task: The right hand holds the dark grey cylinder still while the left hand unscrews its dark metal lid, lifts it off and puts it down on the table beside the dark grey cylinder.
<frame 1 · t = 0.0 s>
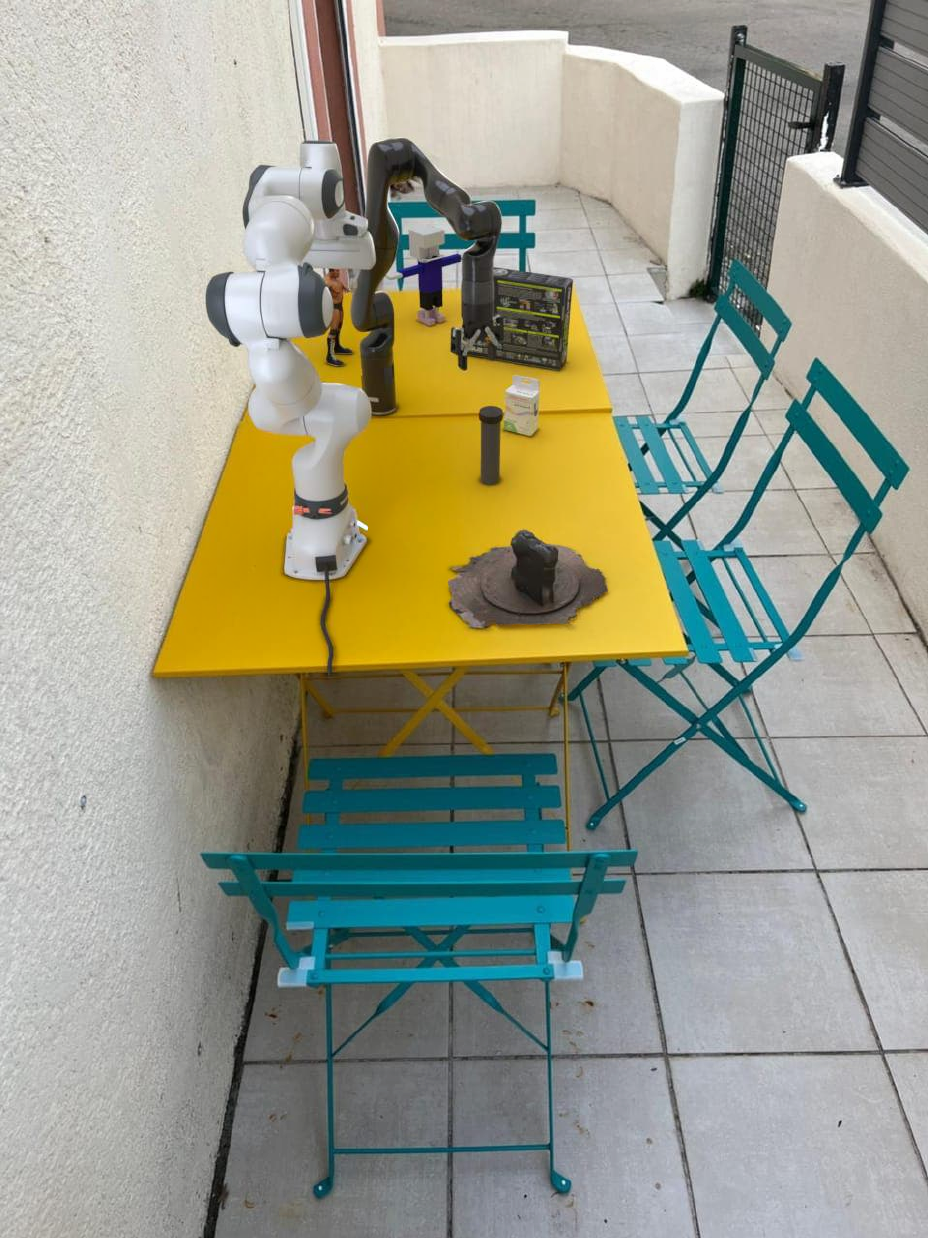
left hand: (332, 287, 199), 48 cm above the table, tool pointing down, fingers open, 8 cm apart
right hand: (477, 364, 212), 29 cm above the table, tool pointing down, fingers open, 8 cm apart
sculpture: (525, 587, 193), on the table
dark grey cylinder: (489, 479, 227), on the table
lid: (490, 412, 215), point 19 cm above the table, screwed on, not yet turned
toy: (430, 321, 308), on the table
figurine: (339, 358, 284), on the table
ink box: (520, 430, 247), on the table
box: (514, 359, 283), on the table
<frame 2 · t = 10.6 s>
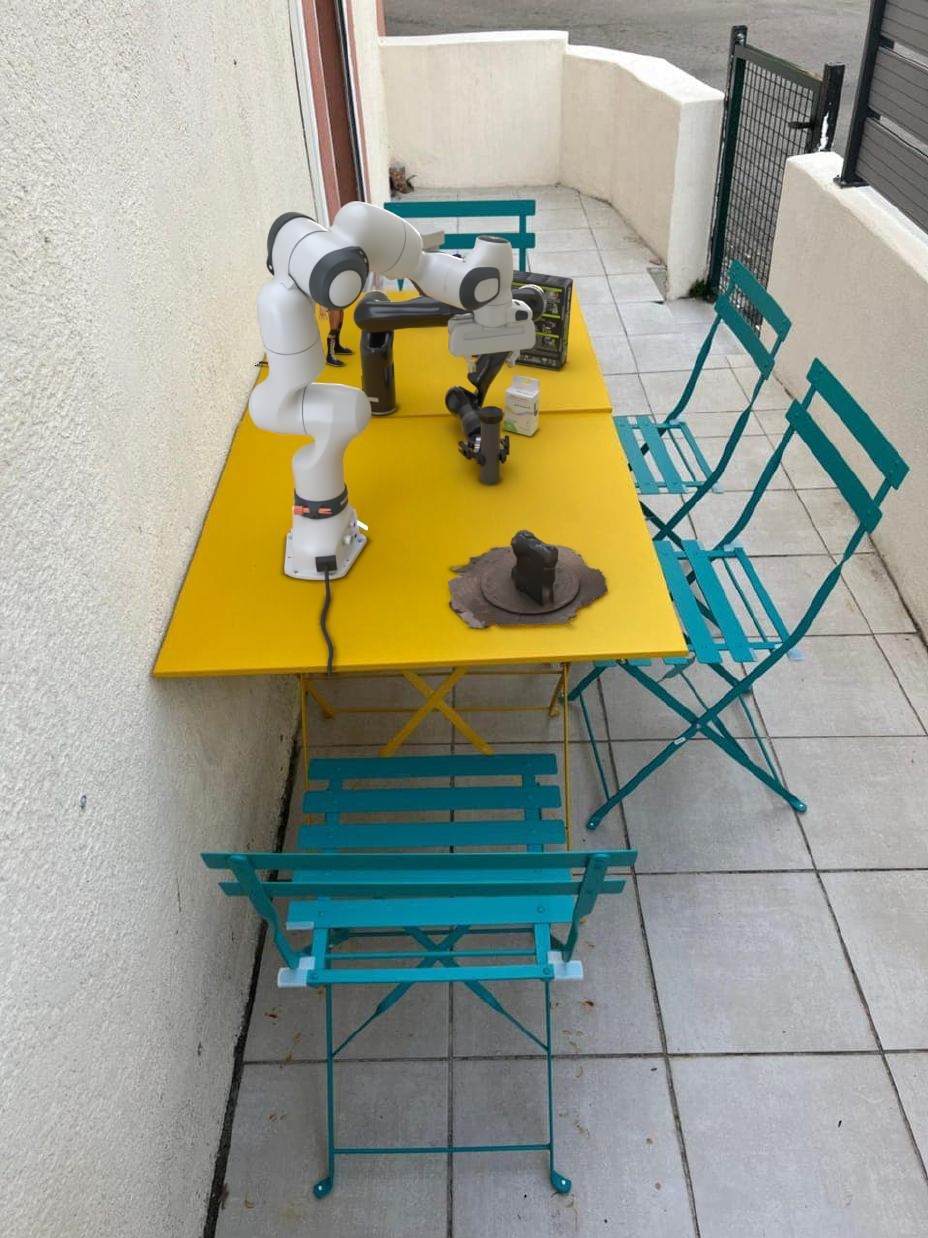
left hand: (491, 369, 208), 30 cm above the table, tool pointing down, fingers open, 8 cm apart
right hand: (492, 461, 221), 7 cm above the table, tool horizontal, fingers closed on dark grey cylinder, 5 cm apart
dark grey cylinder: (489, 479, 227), on the table, touching right hand
everything else where it was.
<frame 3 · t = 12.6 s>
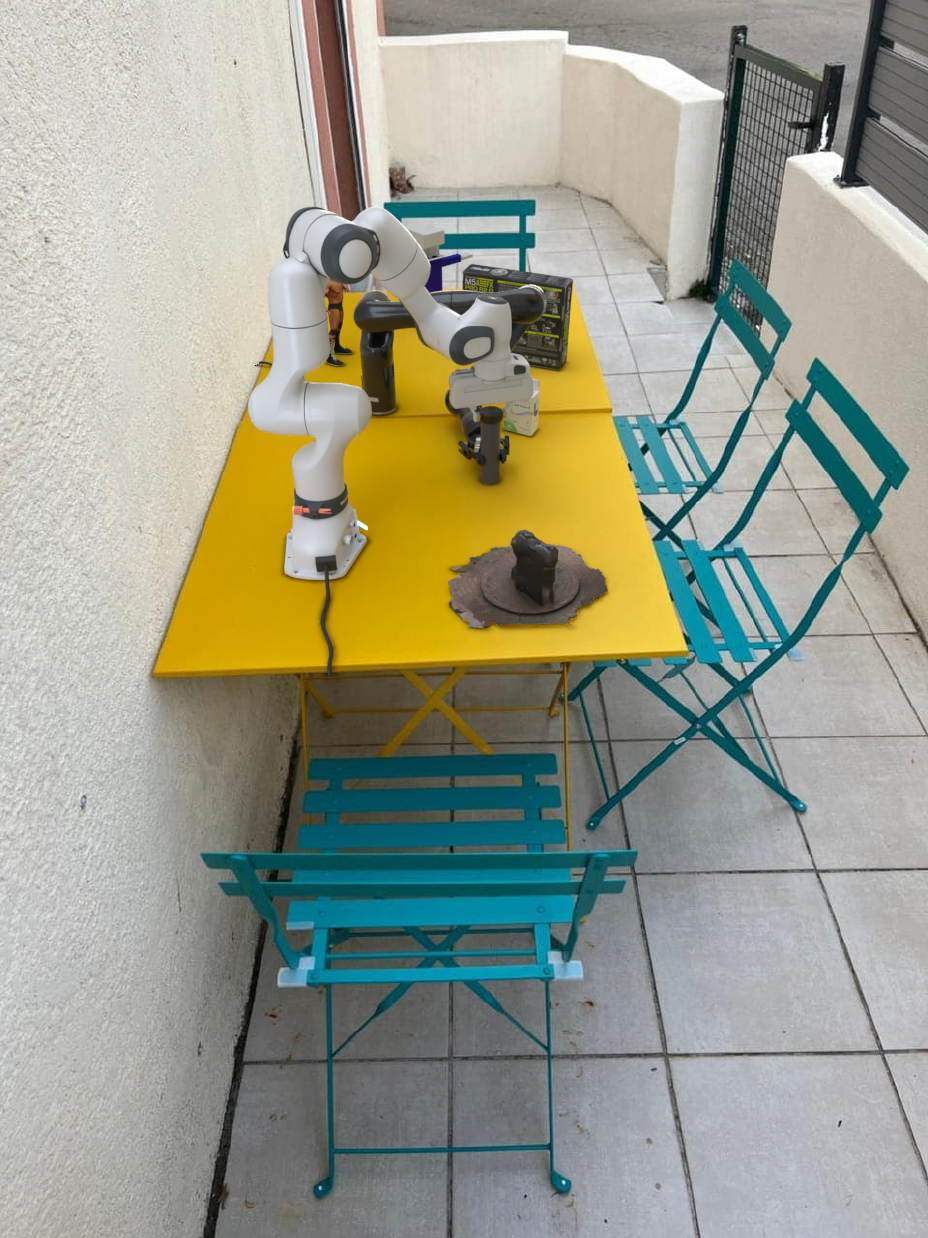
left hand: (491, 418, 216), 17 cm above the table, tool pointing down, fingers closed on lid, 5 cm apart
right hand: (492, 461, 221), 7 cm above the table, tool horizontal, fingers closed on dark grey cylinder, 5 cm apart
dark grey cylinder: (489, 479, 227), on the table, touching right hand
lid: (490, 412, 215), point 19 cm above the table, screwed on, not yet turned, touching left hand
everything else where it was.
when the left hand's fingers open (18 cm above the table, at t = 14.0 s): lid stays where it is, point 19 cm above the table.
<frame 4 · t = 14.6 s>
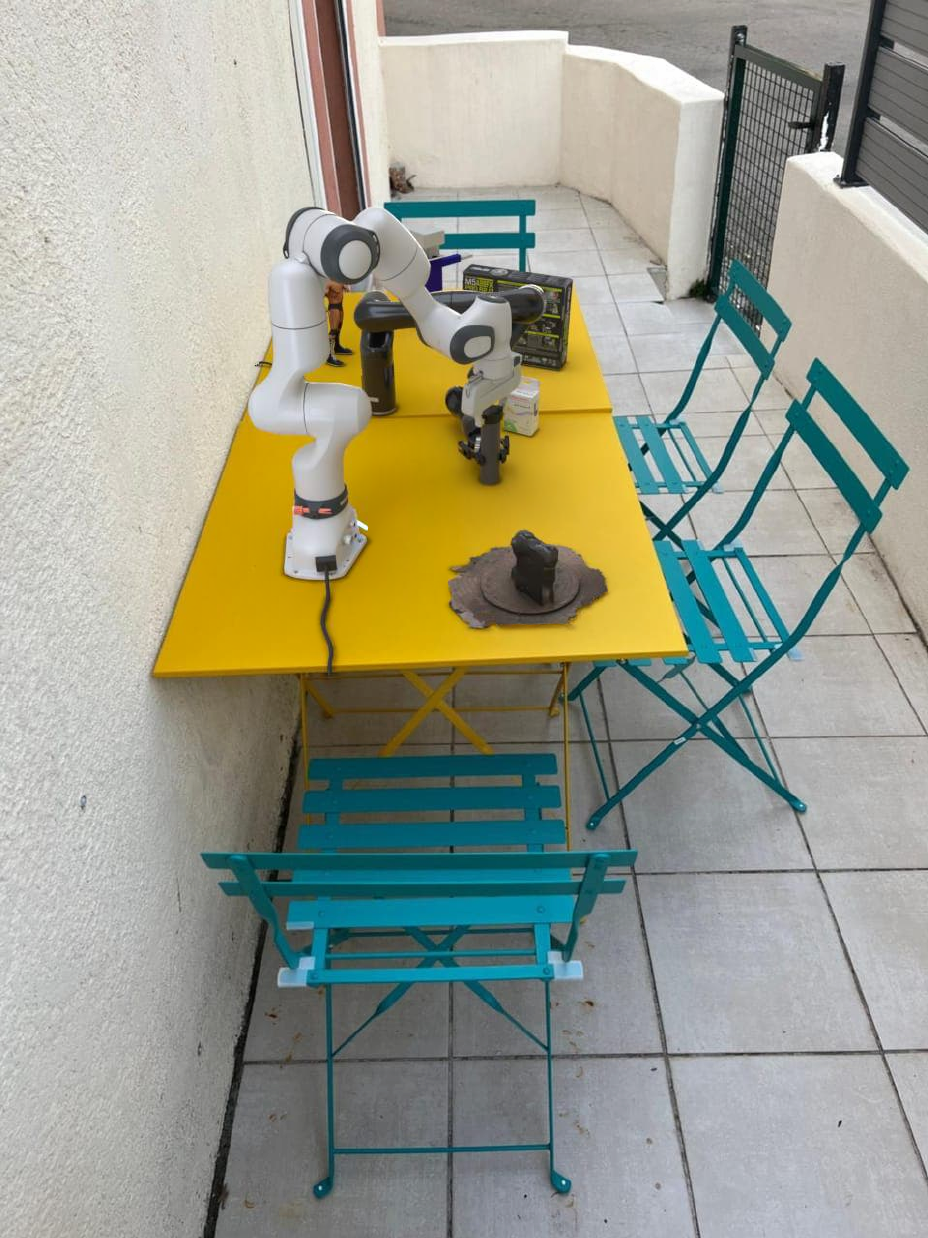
left hand: (490, 418, 216), 17 cm above the table, tool pointing down, fingers open, 8 cm apart
right hand: (492, 461, 221), 7 cm above the table, tool horizontal, fingers closed on dark grey cylinder, 5 cm apart
dark grey cylinder: (489, 479, 227), on the table, touching right hand
lid: (490, 411, 215), point 19 cm above the table, turned 84° so far, risen 0.3 cm, still on its thread
everything else where it was.
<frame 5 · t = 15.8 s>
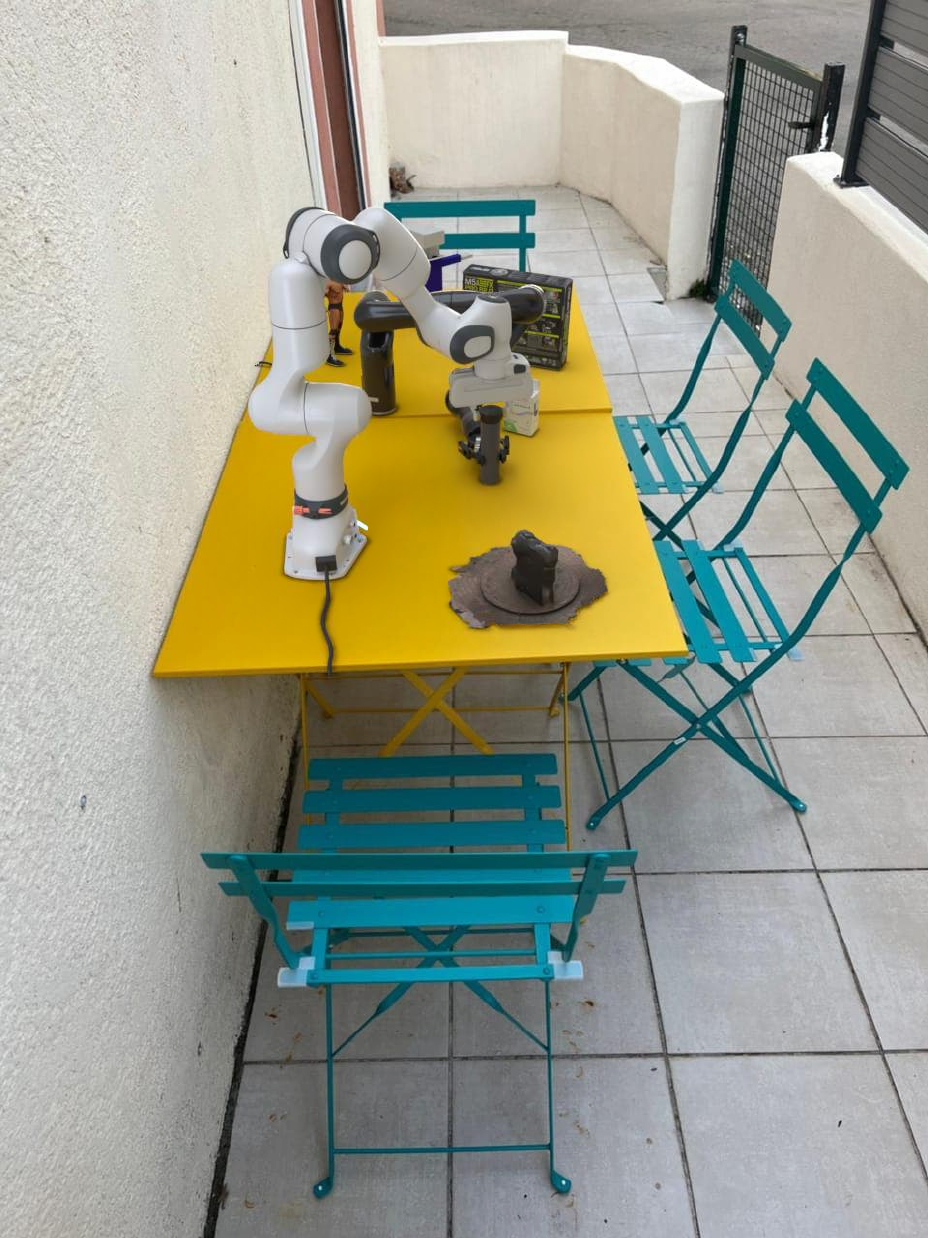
left hand: (490, 418, 216), 17 cm above the table, tool pointing down, fingers closed on lid, 5 cm apart
right hand: (492, 461, 221), 7 cm above the table, tool horizontal, fingers closed on dark grey cylinder, 5 cm apart
dark grey cylinder: (489, 479, 227), on the table, touching right hand
lid: (490, 411, 215), point 19 cm above the table, turned 84° so far, risen 0.3 cm, still on its thread, touching left hand
everything else where it was.
when the left hand's fingers open (2 cm above the table, at t = 22.1 s): lid drops 2 cm, point 2 cm above the table.
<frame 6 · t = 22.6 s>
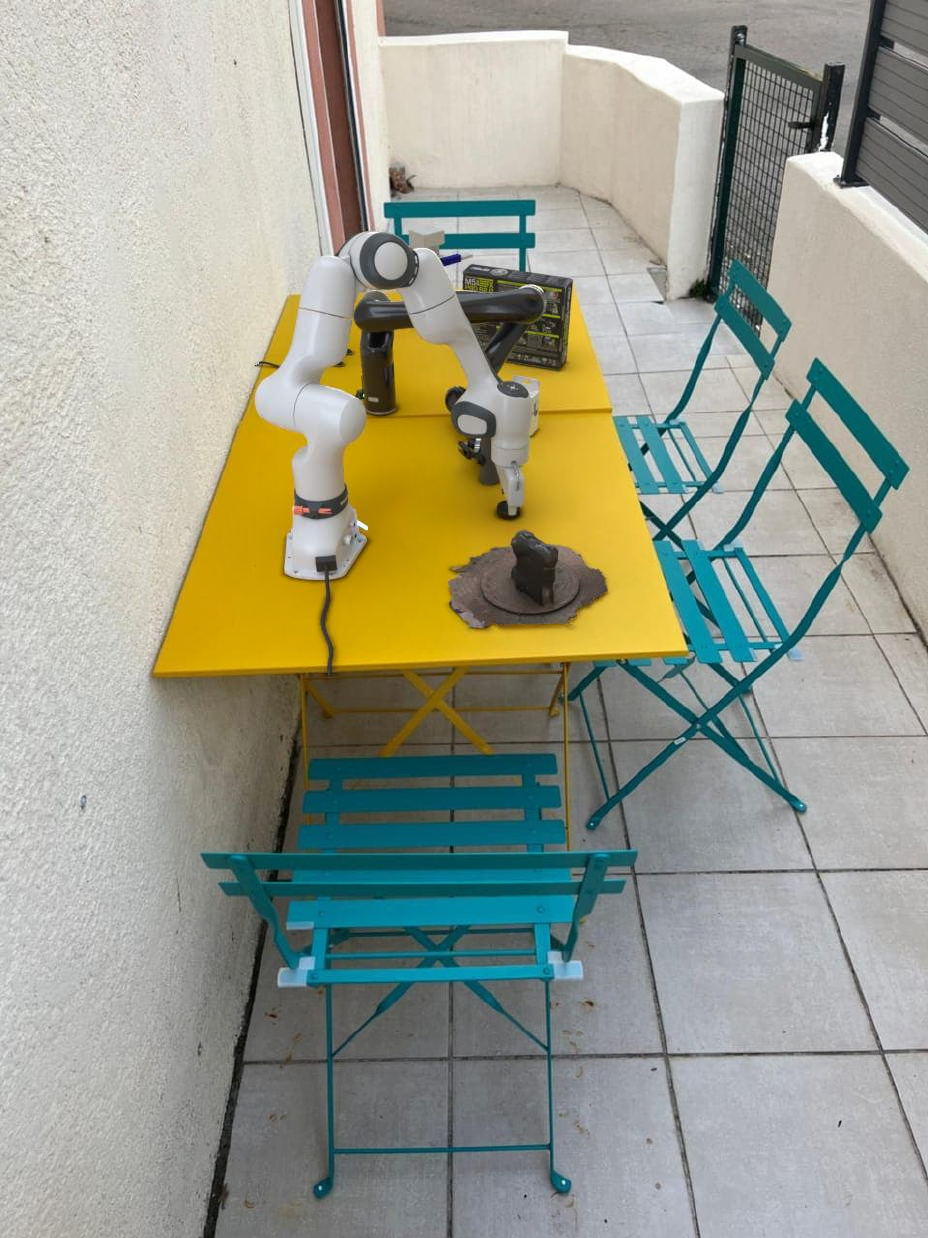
left hand: (508, 502, 213), 3 cm above the table, tool pointing down, fingers open, 8 cm apart
right hand: (492, 461, 221), 7 cm above the table, tool horizontal, fingers closed on dark grey cylinder, 5 cm apart
dark grey cylinder: (489, 479, 227), on the table, touching right hand
lid: (508, 507, 214), point 2 cm above the table, off its thread
everything else where it was.
when the right hand's fingers open (7 cm above the table, at t = 23.1 s): dark grey cylinder stays where it is, on the table.
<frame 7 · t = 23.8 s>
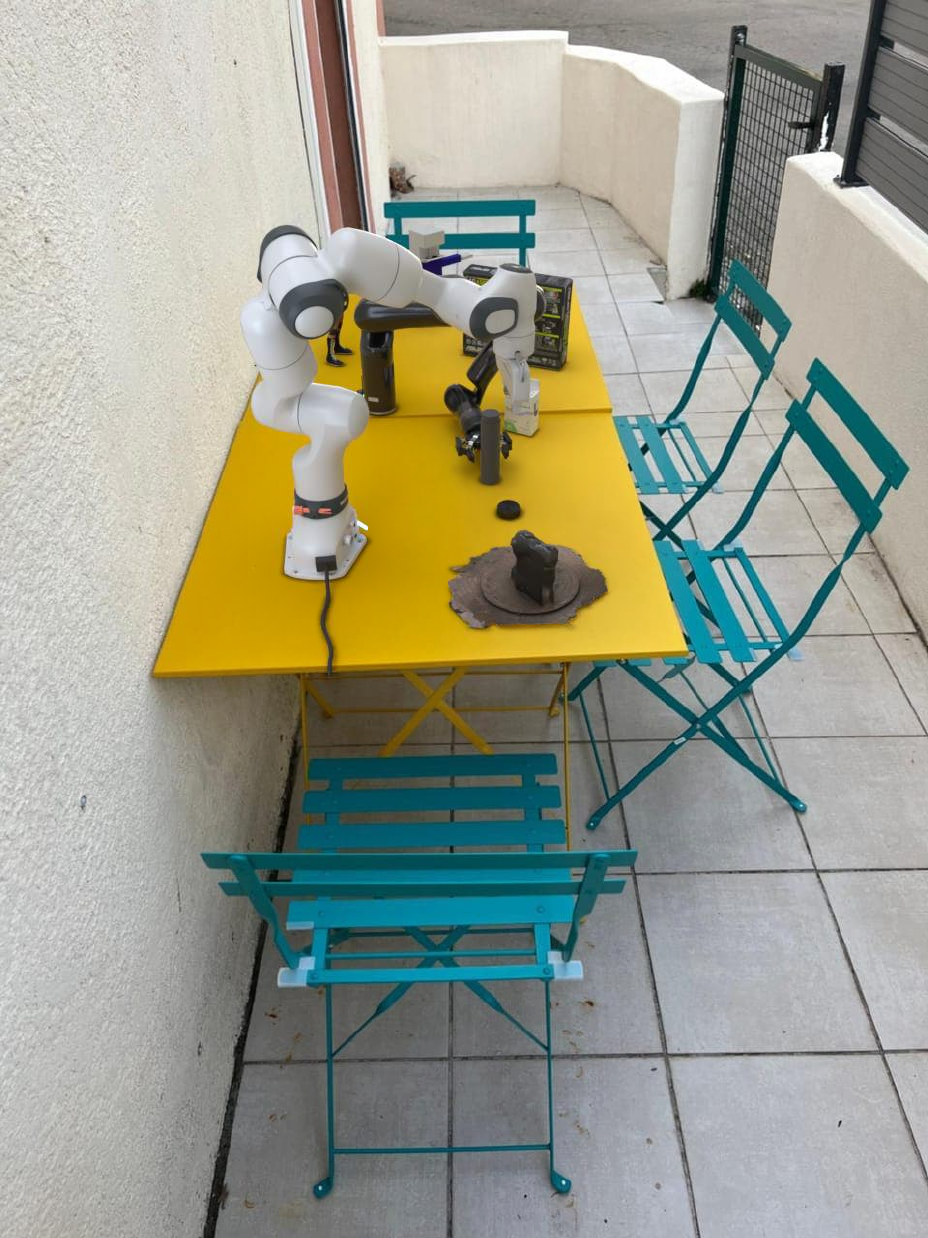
left hand: (511, 403, 197), 29 cm above the table, tool pointing down, fingers open, 8 cm apart
right hand: (489, 457, 222), 7 cm above the table, tool horizontal, fingers open, 8 cm apart
dark grey cylinder: (489, 479, 227), on the table
everything else where it was.
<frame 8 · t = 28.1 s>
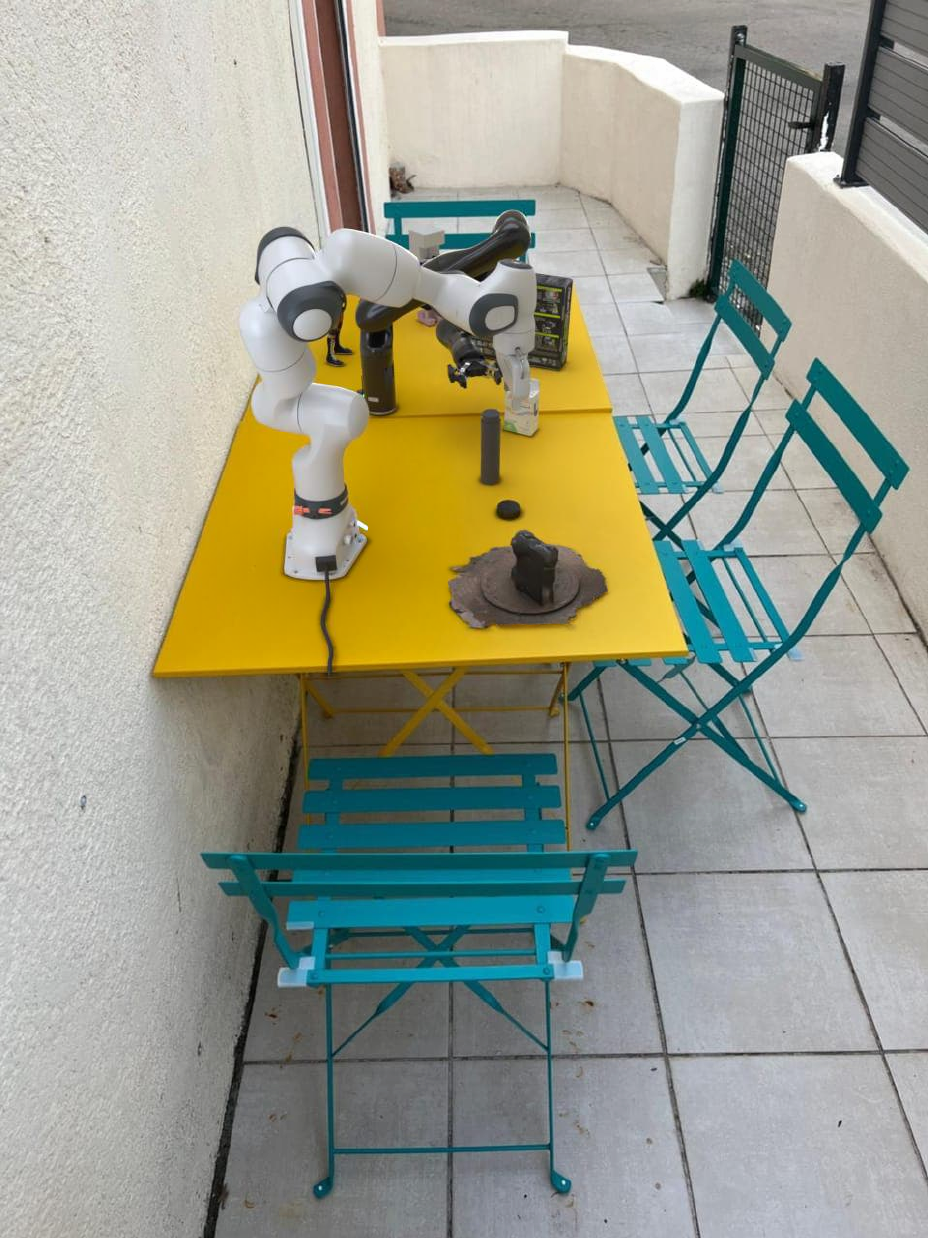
left hand: (511, 399, 196), 30 cm above the table, tool pointing down, fingers open, 8 cm apart
right hand: (482, 383, 221), 22 cm above the table, tool horizontal, fingers open, 8 cm apart
nothing on the table moved.
at the end: lid came off its thread; lid point 1.7 cm above the table; the left hand is holding nothing; the right hand is holding nothing; dark grey cylinder tilted 0°; dark grey cylinder moved 0.0 cm from its start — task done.
